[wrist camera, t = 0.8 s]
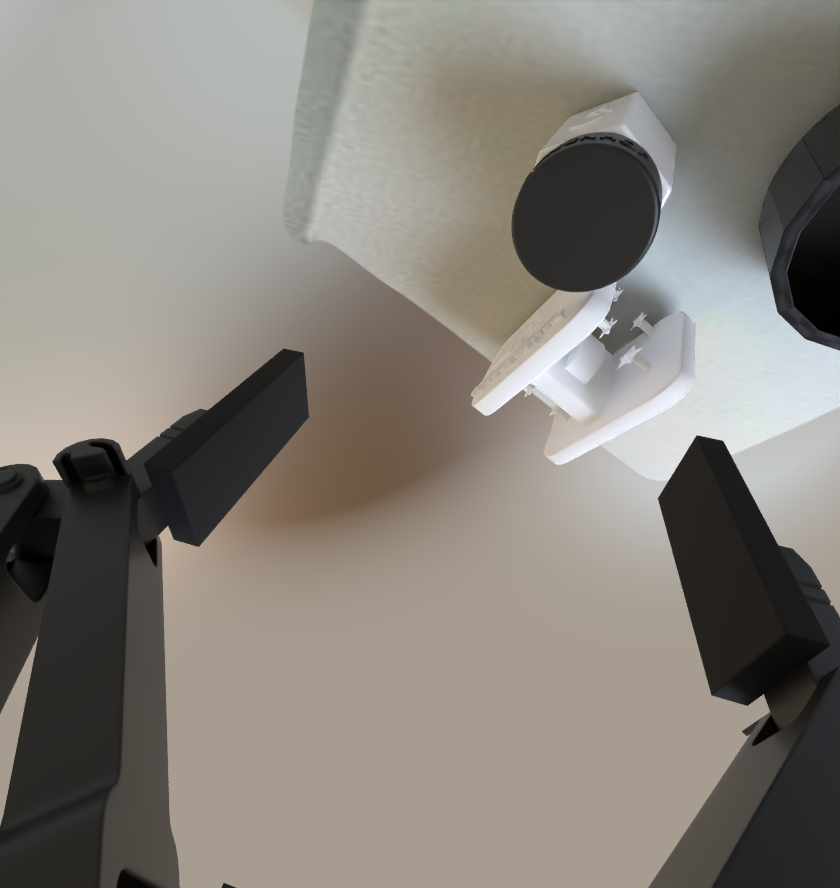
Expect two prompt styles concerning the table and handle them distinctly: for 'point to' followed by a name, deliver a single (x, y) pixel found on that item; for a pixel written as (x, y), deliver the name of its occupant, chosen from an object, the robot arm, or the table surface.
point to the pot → (807, 234)
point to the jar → (595, 196)
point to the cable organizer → (591, 370)
